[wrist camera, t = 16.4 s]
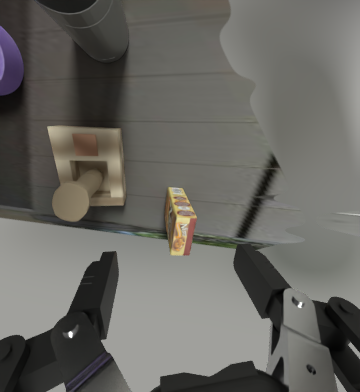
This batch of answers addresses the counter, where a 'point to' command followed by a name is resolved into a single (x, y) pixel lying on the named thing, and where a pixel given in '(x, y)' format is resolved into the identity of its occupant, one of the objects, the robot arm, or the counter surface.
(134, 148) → the counter surface
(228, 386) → the robot arm
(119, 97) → the counter surface
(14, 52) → the tape roll
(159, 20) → the counter surface
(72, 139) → the block
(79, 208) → the handle
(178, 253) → the candy box
